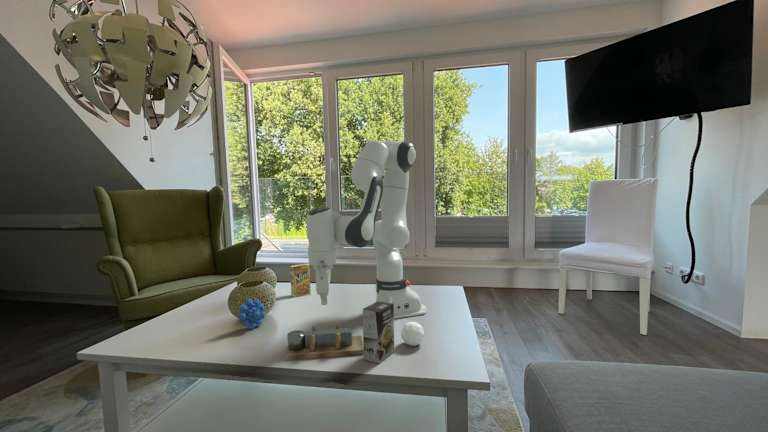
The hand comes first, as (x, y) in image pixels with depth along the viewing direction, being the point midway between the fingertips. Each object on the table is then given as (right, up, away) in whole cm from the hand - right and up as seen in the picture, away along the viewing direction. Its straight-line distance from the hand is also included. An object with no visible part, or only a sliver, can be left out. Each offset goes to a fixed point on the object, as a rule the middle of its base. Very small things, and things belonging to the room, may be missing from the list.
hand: (325, 299), depth 116 cm
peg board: (0, -17, +1) cm, 17 cm away
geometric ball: (+29, -16, +4) cm, 33 cm away
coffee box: (+18, -17, -4) cm, 25 cm away
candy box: (-22, -13, +62) cm, 67 cm away
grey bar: (-2, -15, +1) cm, 15 cm away
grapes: (-30, -16, +20) cm, 40 cm away
